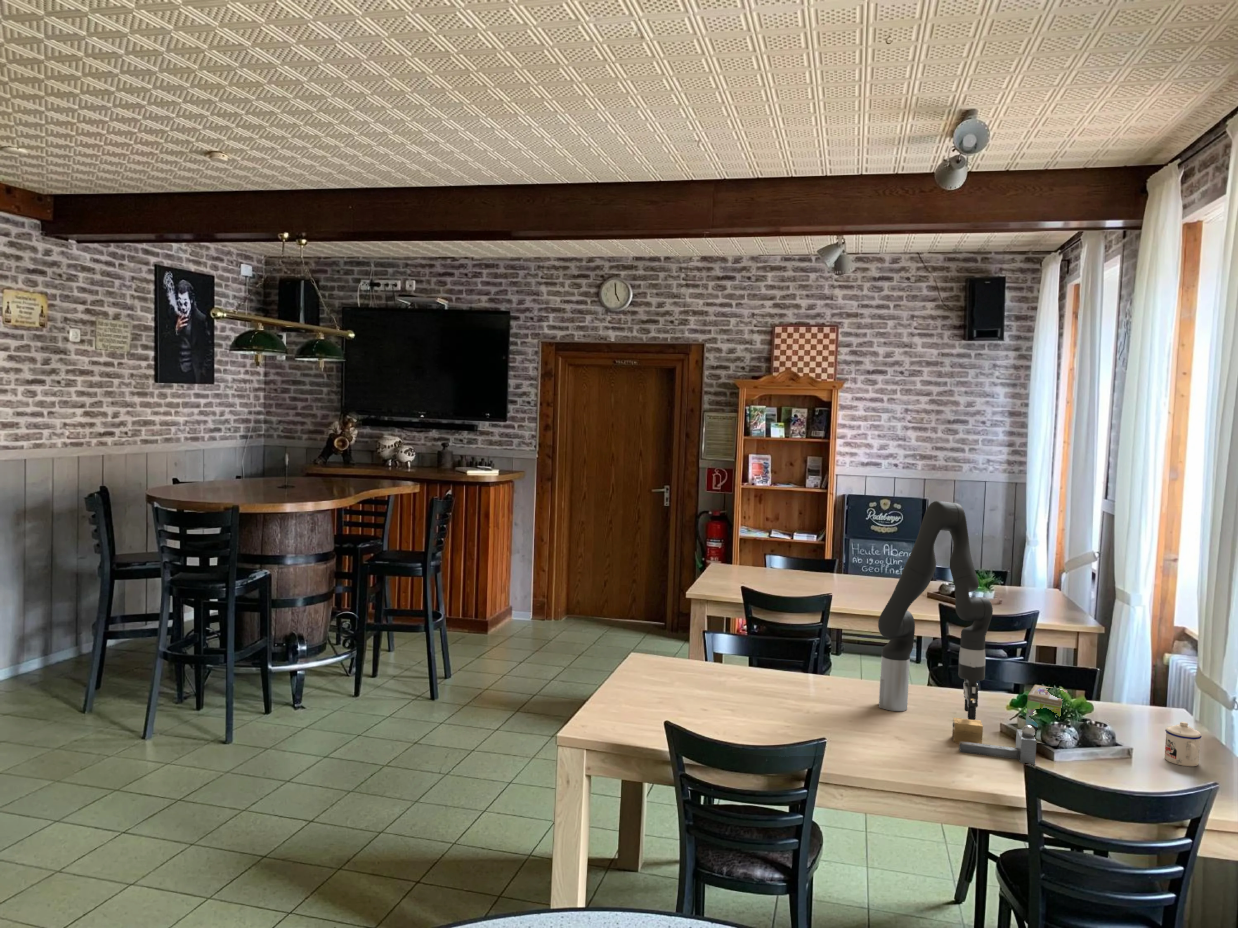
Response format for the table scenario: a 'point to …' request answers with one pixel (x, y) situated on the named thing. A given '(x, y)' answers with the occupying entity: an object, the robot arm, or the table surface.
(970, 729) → the tan wooden block
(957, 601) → the robot arm
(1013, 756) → the coupler rail
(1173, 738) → the teacup with lid
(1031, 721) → the tea box
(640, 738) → the table surface
